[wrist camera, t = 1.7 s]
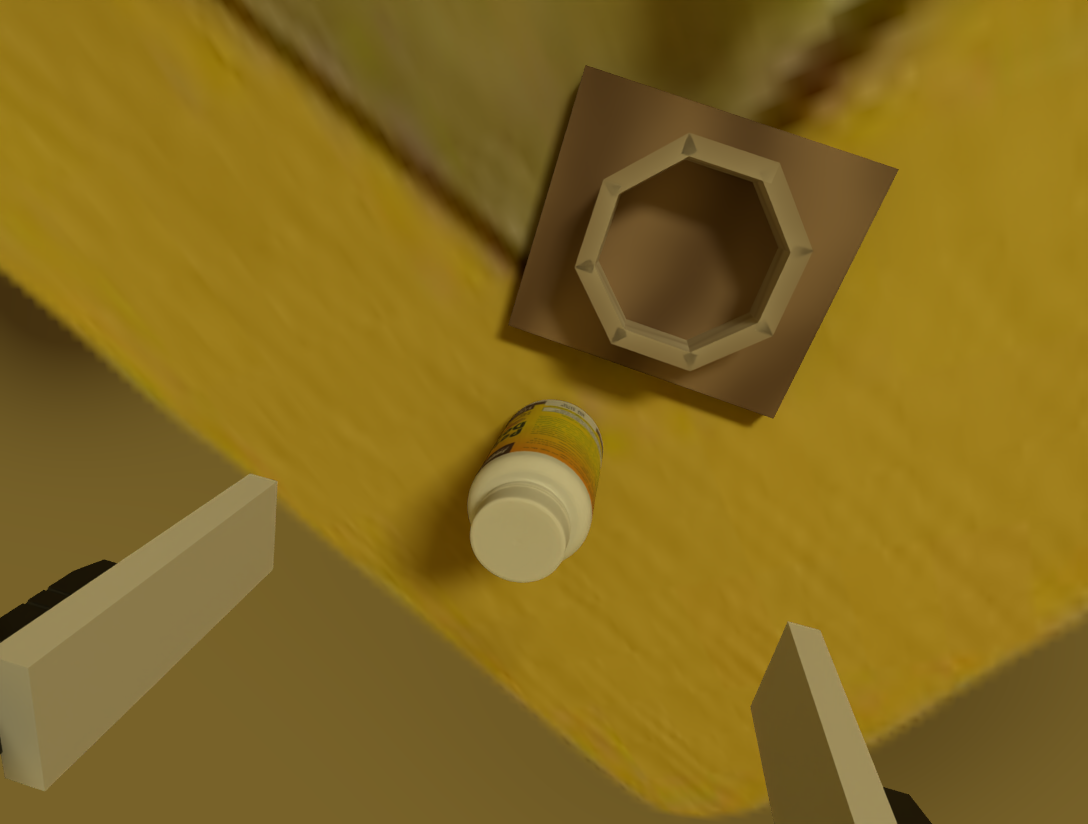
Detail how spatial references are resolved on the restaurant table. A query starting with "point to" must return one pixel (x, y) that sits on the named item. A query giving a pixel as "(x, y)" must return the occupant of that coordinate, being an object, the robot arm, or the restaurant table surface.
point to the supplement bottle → (536, 491)
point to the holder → (693, 241)
